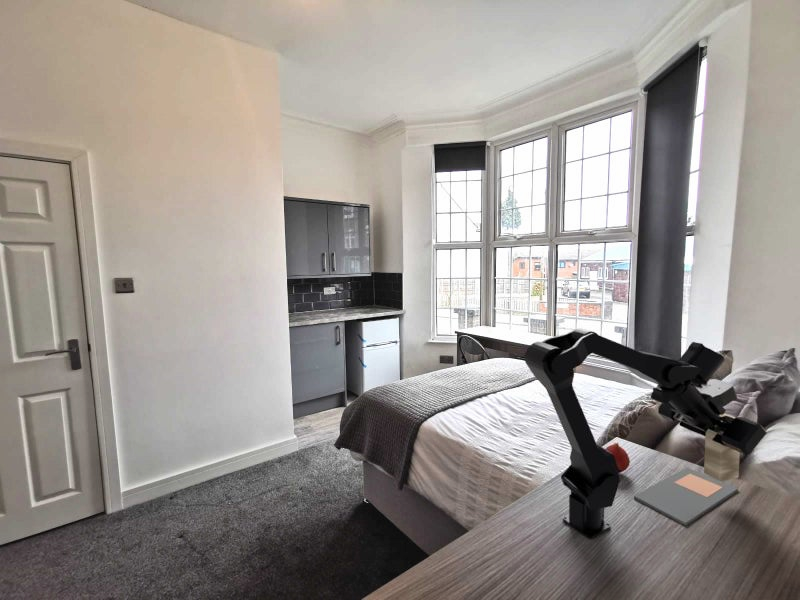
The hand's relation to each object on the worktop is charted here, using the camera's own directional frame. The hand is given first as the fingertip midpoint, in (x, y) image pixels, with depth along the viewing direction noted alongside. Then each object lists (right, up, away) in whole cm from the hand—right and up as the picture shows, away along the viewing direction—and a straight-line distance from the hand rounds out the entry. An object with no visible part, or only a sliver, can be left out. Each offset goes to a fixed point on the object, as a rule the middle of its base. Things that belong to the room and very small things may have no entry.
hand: (727, 443), depth 80 cm
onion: (-17, -12, +12) cm, 24 cm away
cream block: (-1, -7, 0) cm, 7 cm away
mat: (-7, -12, +3) cm, 14 cm away
